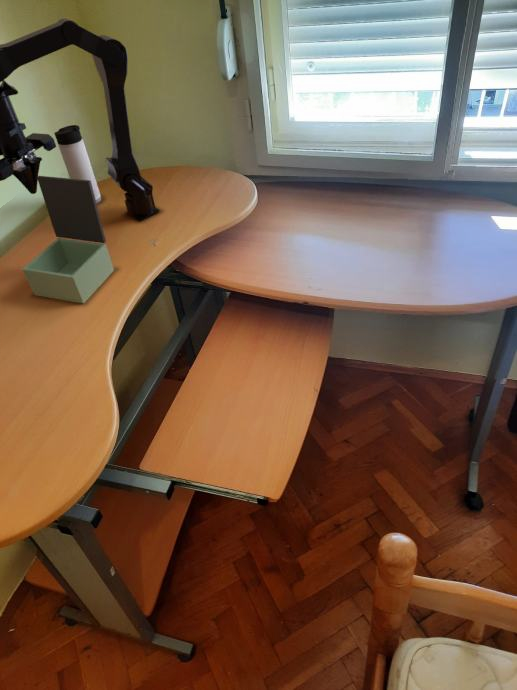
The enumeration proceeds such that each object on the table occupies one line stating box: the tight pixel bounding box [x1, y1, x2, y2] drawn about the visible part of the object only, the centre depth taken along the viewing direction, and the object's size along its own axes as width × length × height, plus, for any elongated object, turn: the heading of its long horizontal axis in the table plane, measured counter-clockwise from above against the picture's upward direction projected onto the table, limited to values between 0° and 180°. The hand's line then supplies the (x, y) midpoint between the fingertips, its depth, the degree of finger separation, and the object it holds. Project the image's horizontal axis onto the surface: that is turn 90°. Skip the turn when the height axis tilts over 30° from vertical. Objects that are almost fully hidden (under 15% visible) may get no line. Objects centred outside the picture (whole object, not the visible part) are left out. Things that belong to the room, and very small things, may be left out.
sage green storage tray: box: [21, 237, 115, 305], centre depth 100 cm, size 12×12×7 cm
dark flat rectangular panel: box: [37, 175, 107, 244], centre depth 97 cm, size 13×12×1 cm
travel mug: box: [54, 124, 102, 205], centre depth 123 cm, size 6×7×20 cm
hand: (33, 193), depth 106 cm, fingers closed
